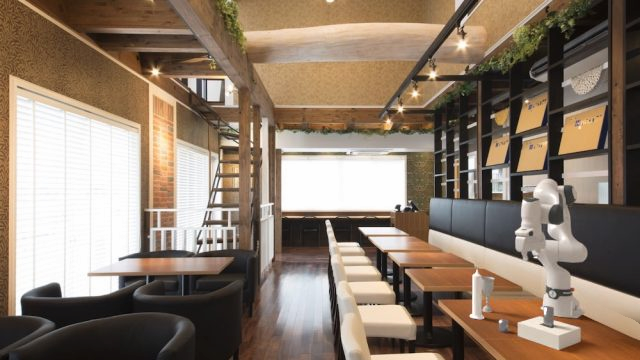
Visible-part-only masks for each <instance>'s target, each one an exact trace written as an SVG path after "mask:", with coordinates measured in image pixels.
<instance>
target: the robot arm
mask: <svg viewBox="0 0 640 360" xmlns="http://www.w3.org/2000/svg"><path fill="white" fill-rule="evenodd" d="M577 193H578V192H577V190H576V189H575V187H574V186H573V185H571V184H564V185H558V182H557V181H555V180H554V179H552V178H544V179H543V180H541V181H540V182H538V184H537V185H536V186H535V188H534V189H533V194H532V197H526V198H523V199H522V202H521V210H520V218H521V224H520V227H519V228H518V229H516V230H515V231H514V234H515V236H516V237H515V244H514V245H515V250H516V252H519V253H521V255H522V260H523V261H524V262H527V261H529V256H528V252H531V254H532V256H533V259H535V260H538V261H539V262H540V263H541V264H542V265H543V268H544V270H545V275H546V285H545V294H543V301H542V306H540V310H542V312H544V306H551V307H553V308H554V317H559V318H572V319H579V318H580V317H581V316H583V315H584V314H585V310H583V309H580V301H579V300H578V299H577V298H576V297H575V296H574V295H573V293H574V292H575V291H576V289H575V287H572V286H571V284H572V282H571V280H572V279H571V274H570V272H569V270H567V269H566V268H564V267H562V266H560V265H558V262H564V263H573V264H574V263H583V262H584V261H585V260H586V259H587V257H588V249H587V247H586V246H585V245H584V244H583V243H582V242H580V241H578V240H577V239H576V238H575V237H574V236H573V233H572V226H571V223H572V222H571V221H572V220H571V214H570V211H569V208H571V207H572V206H573V204H574V203H576V201H577V198H578V194H577ZM568 207H569V208H568ZM542 224H545V225H547V233H548V235H549V236H550V237H551V238H552V239H553V240H551V239H546V236H545V233H544V232H543V230H542V229H543V228H542Z"/></svg>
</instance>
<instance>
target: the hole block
mask: <svg viewBox="0 0 640 360" xmlns="http://www.w3.org/2000/svg"><path fill="white" fill-rule="evenodd" d="M581 333H582V332H581V327H579V326H576V325H572V324H568V323H565V322H562V321H557V320H555V319H554V328H549V327H546V326H544V316H540V315H539V316H536V317H533V318H529V319H526V320H522V321H519V322H517V337H519V338H522V339H526V340H528V341H531V342H534V343H537V344H540V345H543V346H545V347H549V348H551V349H554V350H557V351H560V350H563V349H565V348H567V347H570V346H573V345H576V344H578V343H581V338H582V337H581V336H582V335H581Z"/></svg>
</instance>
